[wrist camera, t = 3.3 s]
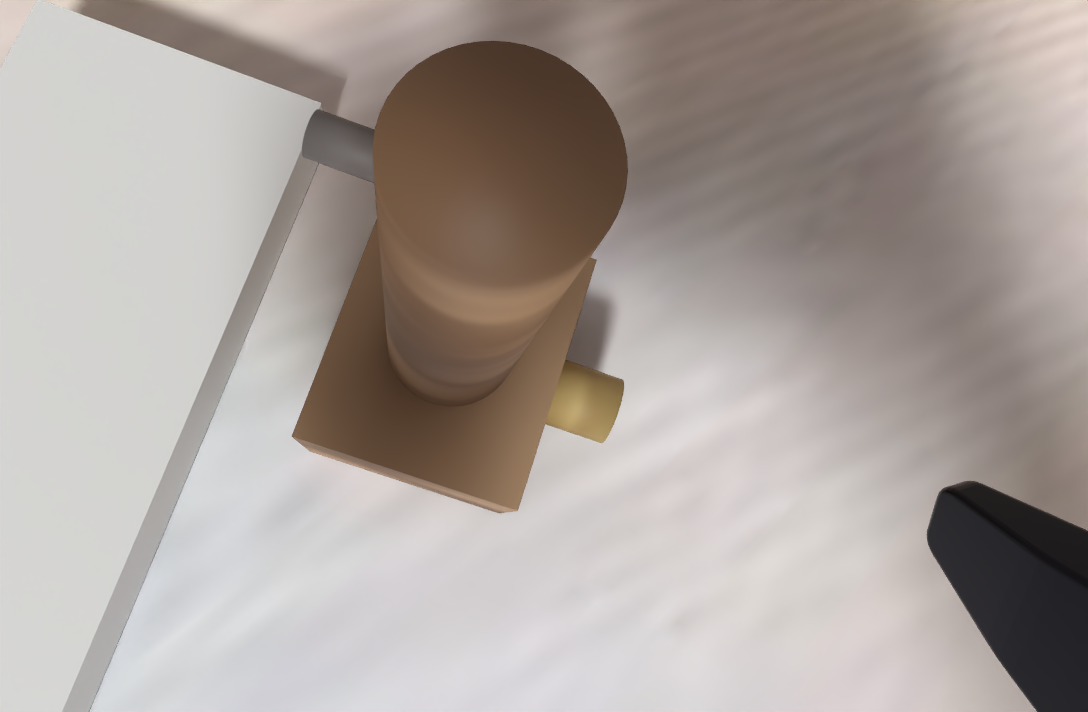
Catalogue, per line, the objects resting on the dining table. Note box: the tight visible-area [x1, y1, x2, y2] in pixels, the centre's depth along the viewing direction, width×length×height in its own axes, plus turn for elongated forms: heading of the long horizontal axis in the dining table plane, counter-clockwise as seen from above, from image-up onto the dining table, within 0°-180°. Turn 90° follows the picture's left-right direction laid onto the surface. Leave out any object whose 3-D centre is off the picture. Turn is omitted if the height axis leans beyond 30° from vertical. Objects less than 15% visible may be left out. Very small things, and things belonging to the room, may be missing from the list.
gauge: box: [292, 41, 628, 513], centre depth 15 cm, size 7×6×13 cm
